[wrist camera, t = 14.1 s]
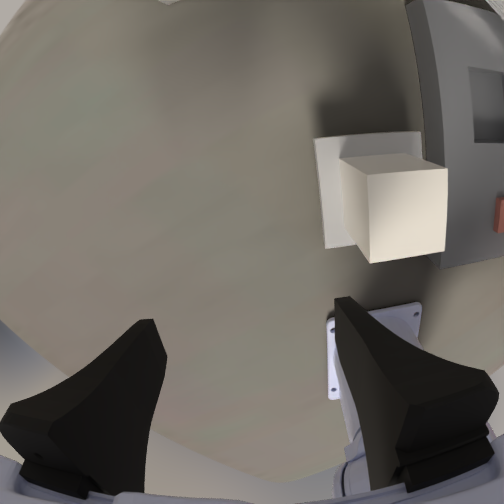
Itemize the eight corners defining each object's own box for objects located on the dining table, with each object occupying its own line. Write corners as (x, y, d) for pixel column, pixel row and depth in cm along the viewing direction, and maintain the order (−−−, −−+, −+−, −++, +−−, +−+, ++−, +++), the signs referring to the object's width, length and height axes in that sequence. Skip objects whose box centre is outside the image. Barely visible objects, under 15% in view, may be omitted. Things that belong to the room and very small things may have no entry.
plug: (405, 220, 21) (460, 269, 14) (317, 232, 21) (345, 290, 15) (401, 128, 18) (467, 141, 11) (307, 135, 19) (335, 148, 12)
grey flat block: (521, 236, 21) (542, 250, 18) (424, 254, 22) (443, 273, 19) (515, 29, 14) (539, 26, 11) (405, 5, 15) (425, -7, 12)
